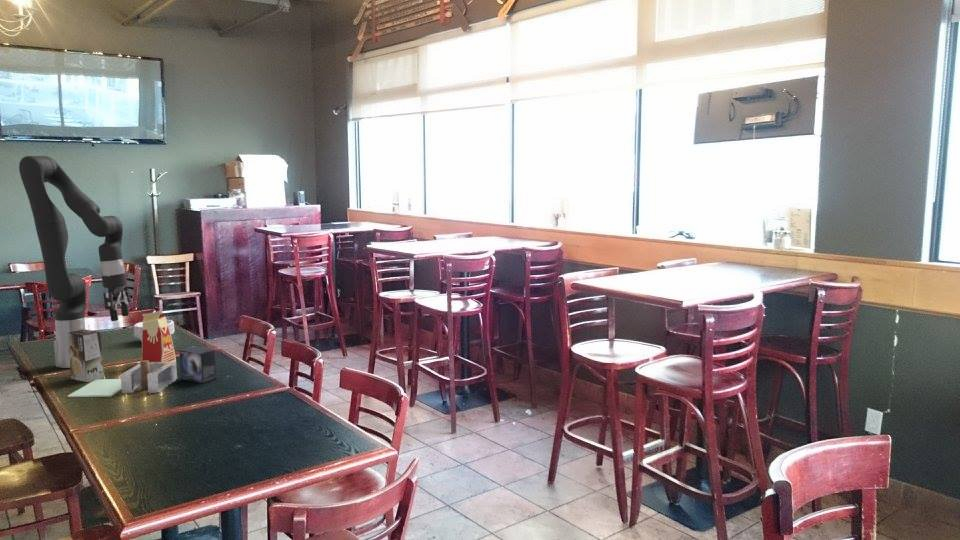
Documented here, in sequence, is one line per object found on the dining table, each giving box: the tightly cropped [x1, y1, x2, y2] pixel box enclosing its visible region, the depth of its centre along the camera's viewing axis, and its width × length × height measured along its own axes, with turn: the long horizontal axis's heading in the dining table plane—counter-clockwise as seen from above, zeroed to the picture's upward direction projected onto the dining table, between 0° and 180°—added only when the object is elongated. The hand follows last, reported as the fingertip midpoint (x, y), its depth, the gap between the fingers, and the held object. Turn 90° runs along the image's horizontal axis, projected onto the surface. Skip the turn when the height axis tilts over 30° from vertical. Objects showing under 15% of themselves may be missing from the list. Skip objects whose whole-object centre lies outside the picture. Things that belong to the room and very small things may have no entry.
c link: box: [120, 361, 178, 394], centre depth 228 cm, size 15×11×6 cm
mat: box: [67, 378, 122, 398], centre depth 226 cm, size 13×18×1 cm
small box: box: [179, 345, 218, 384], centre depth 235 cm, size 11×6×10 cm, turn 62°
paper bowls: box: [133, 319, 175, 343], centre depth 291 cm, size 15×15×8 cm
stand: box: [139, 360, 150, 391], centre depth 225 cm, size 3×3×9 cm
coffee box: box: [67, 328, 105, 383], centre depth 236 cm, size 9×6×16 cm
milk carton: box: [141, 309, 177, 363], centre depth 254 cm, size 9×9×20 cm
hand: (120, 318), depth 248 cm, fingers open, 8 cm apart
